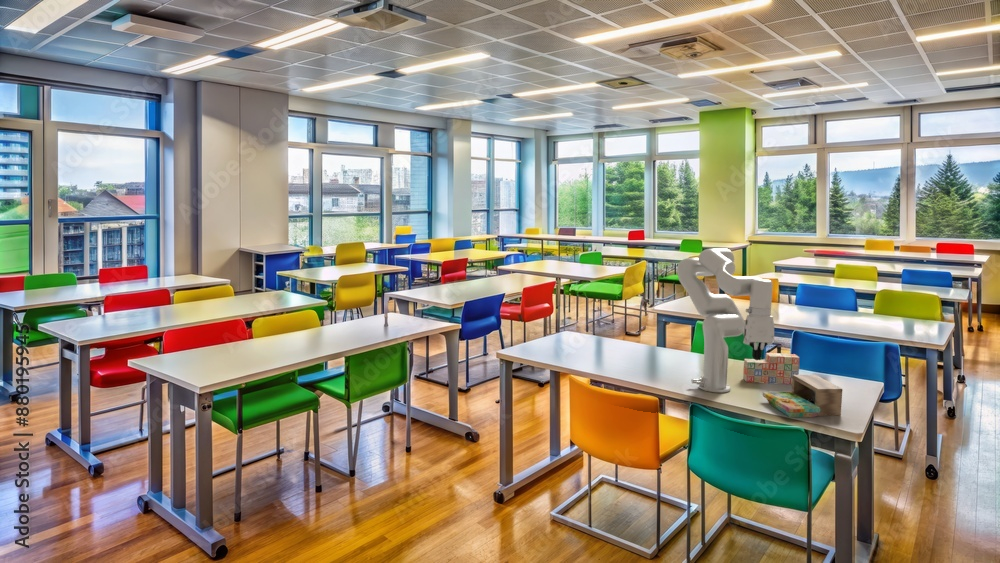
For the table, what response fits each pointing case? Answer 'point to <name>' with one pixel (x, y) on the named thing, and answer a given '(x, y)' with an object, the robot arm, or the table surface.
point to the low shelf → (818, 393)
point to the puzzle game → (791, 404)
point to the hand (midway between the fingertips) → (756, 359)
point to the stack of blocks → (772, 368)
